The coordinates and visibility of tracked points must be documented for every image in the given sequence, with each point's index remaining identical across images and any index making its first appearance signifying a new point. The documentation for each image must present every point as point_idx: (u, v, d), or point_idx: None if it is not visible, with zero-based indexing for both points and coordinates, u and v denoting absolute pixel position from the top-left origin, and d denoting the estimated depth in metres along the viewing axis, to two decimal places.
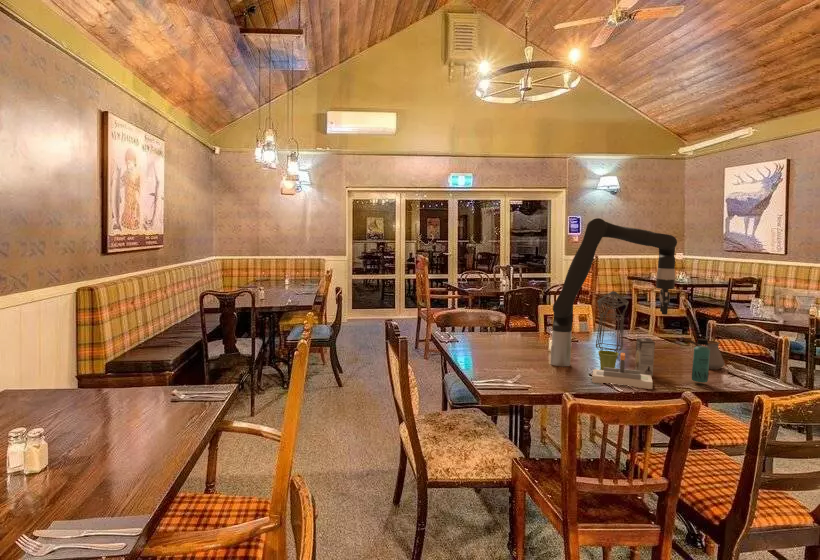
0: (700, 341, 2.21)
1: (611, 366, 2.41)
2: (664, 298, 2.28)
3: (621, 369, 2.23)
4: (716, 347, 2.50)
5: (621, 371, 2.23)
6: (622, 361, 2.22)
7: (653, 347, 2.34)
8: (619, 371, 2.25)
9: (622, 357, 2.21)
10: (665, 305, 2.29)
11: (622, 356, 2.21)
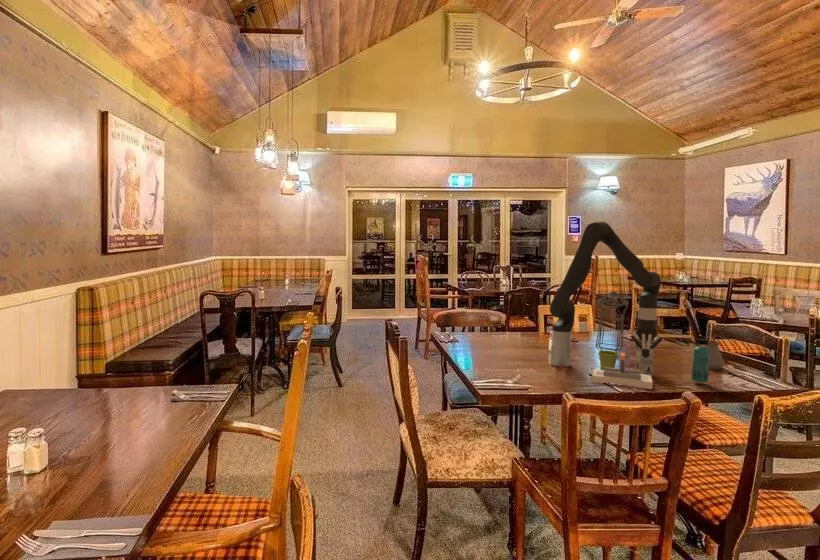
0: (700, 341, 2.21)
1: (611, 366, 2.41)
2: (658, 343, 2.17)
3: (621, 369, 2.23)
4: (716, 347, 2.50)
5: (621, 371, 2.23)
6: (622, 361, 2.22)
7: None
8: (619, 371, 2.25)
9: (622, 357, 2.21)
10: None
11: (622, 356, 2.21)
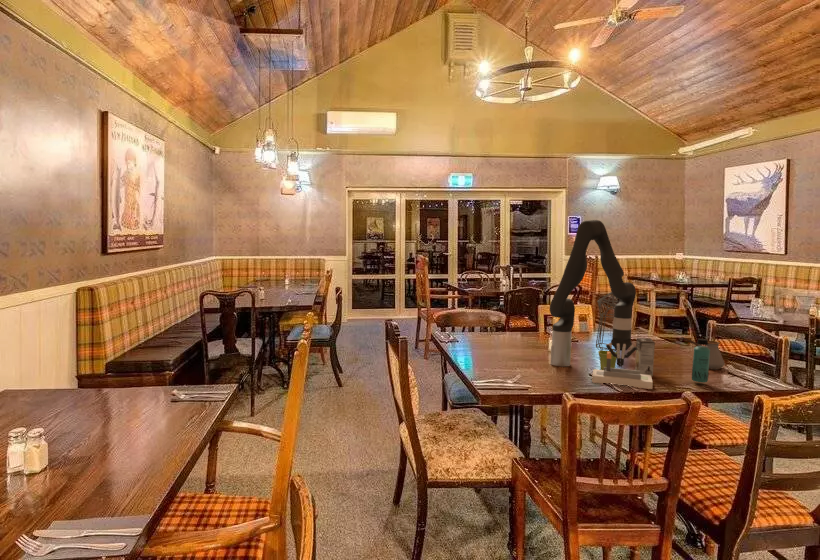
0: (700, 341, 2.21)
1: (611, 366, 2.41)
2: None
3: (607, 368, 2.25)
4: (716, 347, 2.50)
5: (607, 370, 2.25)
6: (608, 360, 2.24)
7: (653, 347, 2.34)
8: (605, 370, 2.27)
9: (608, 356, 2.23)
10: None
11: (608, 355, 2.23)
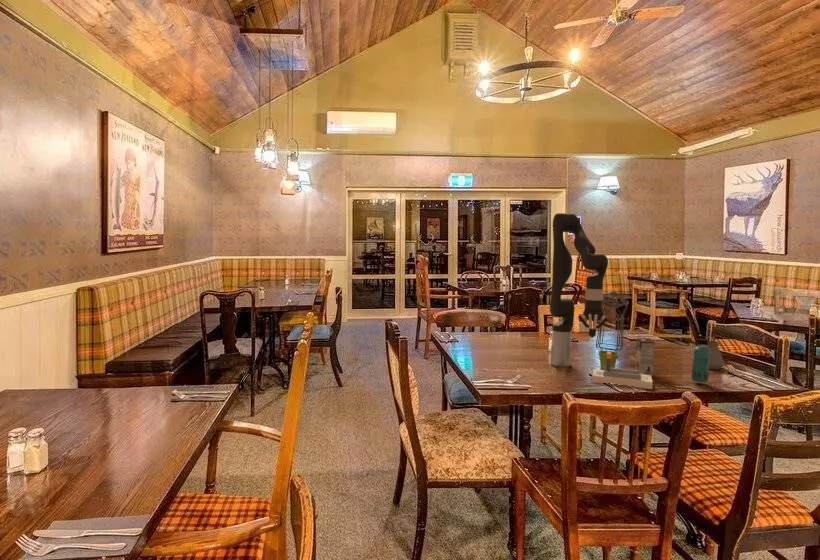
0: (700, 341, 2.21)
1: (611, 366, 2.41)
2: (603, 323, 2.25)
3: (607, 368, 2.25)
4: (716, 347, 2.50)
5: (607, 370, 2.25)
6: (608, 360, 2.24)
7: (653, 347, 2.34)
8: (605, 370, 2.27)
9: (608, 356, 2.23)
10: None
11: (608, 355, 2.23)
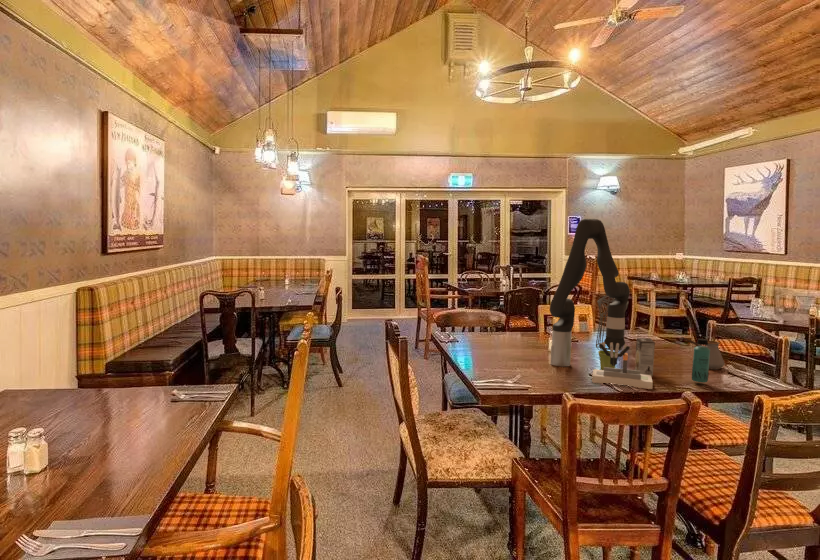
0: (700, 341, 2.21)
1: (611, 366, 2.41)
2: (625, 352, 2.22)
3: (624, 369, 2.22)
4: (716, 347, 2.50)
5: (624, 371, 2.22)
6: (625, 361, 2.22)
7: (653, 347, 2.34)
8: (622, 371, 2.24)
9: (625, 357, 2.21)
10: (619, 356, 2.24)
11: (625, 356, 2.21)
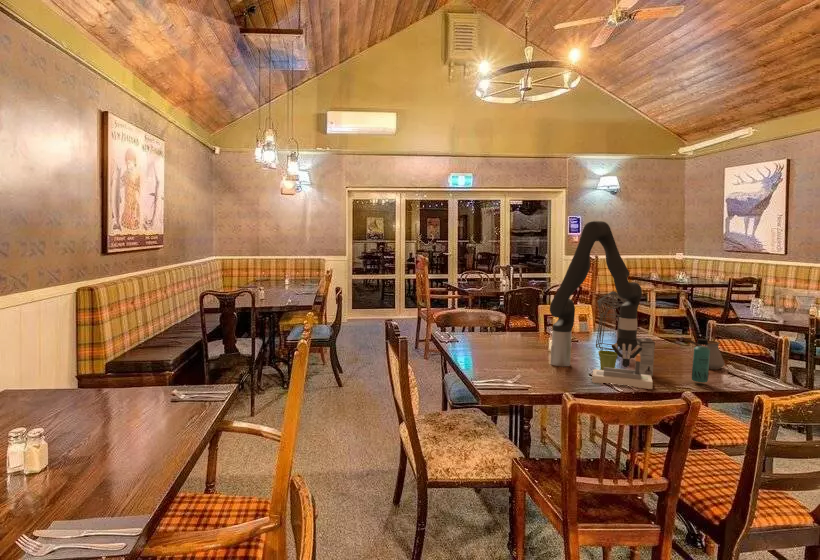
0: (700, 341, 2.21)
1: (611, 366, 2.41)
2: None
3: (636, 371, 2.20)
4: (716, 347, 2.50)
5: (636, 373, 2.20)
6: (637, 362, 2.20)
7: (653, 347, 2.34)
8: (634, 373, 2.23)
9: (637, 358, 2.19)
10: None
11: (637, 357, 2.19)
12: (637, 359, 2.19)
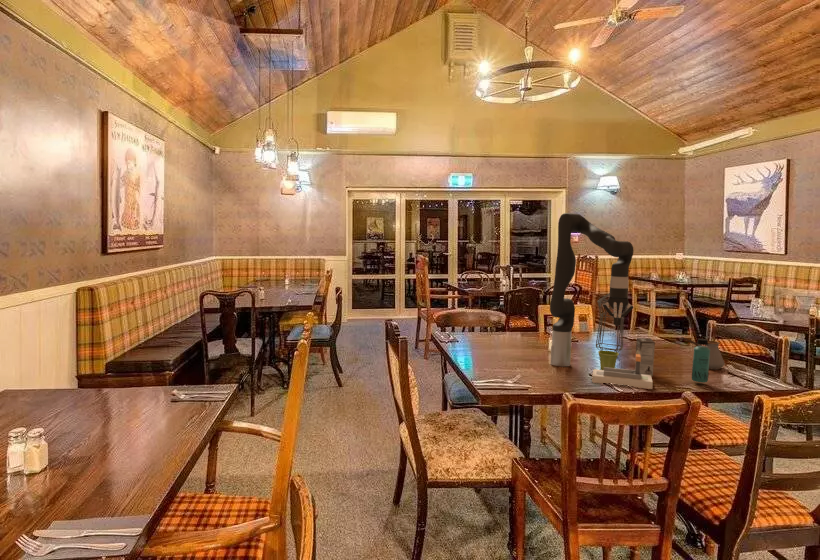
0: (700, 341, 2.21)
1: (611, 366, 2.41)
2: None
3: (636, 371, 2.20)
4: (716, 347, 2.50)
5: (636, 373, 2.20)
6: (637, 363, 2.20)
7: (653, 347, 2.34)
8: (634, 373, 2.22)
9: (638, 358, 2.19)
10: (623, 316, 2.22)
11: (638, 357, 2.19)
12: (637, 359, 2.19)
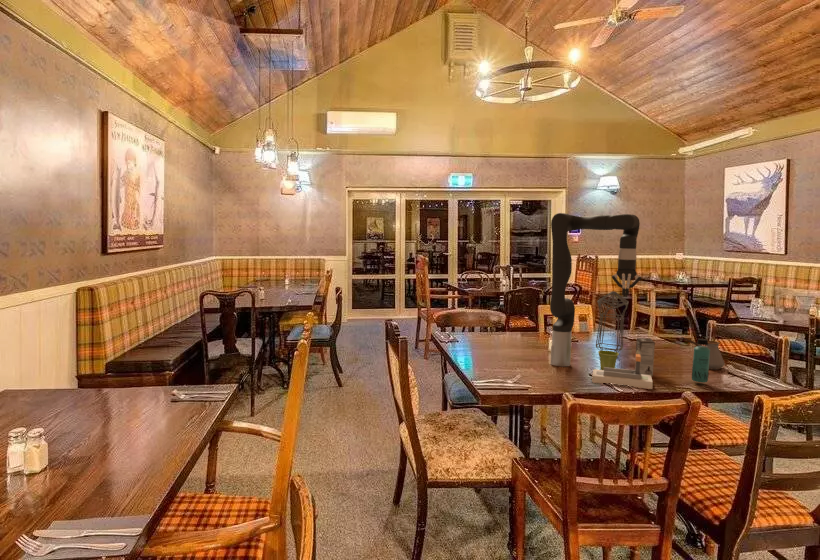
0: (700, 341, 2.21)
1: (611, 366, 2.41)
2: (637, 282, 2.29)
3: (636, 371, 2.20)
4: (716, 347, 2.50)
5: (636, 373, 2.20)
6: (637, 363, 2.20)
7: (653, 347, 2.34)
8: (634, 373, 2.22)
9: (638, 358, 2.19)
10: None
11: (638, 357, 2.19)
12: (637, 359, 2.19)
